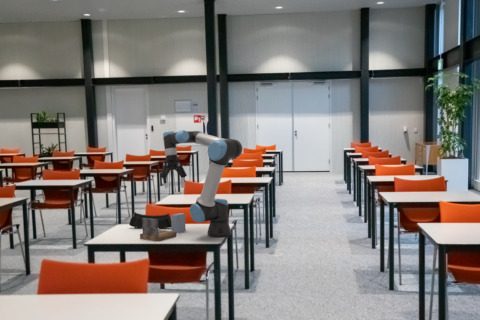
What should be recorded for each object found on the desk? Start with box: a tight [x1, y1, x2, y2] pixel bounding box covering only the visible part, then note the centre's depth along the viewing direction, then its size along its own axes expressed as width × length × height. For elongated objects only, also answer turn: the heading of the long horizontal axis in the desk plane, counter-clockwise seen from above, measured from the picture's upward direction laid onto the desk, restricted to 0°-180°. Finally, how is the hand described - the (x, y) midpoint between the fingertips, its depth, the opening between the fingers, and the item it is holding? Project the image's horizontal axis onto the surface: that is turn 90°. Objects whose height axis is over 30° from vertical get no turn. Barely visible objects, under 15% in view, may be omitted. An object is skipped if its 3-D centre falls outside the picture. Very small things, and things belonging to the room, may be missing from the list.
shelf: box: [139, 218, 178, 242], centre depth 327 cm, size 16×16×13 cm
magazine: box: [129, 211, 172, 229], centre depth 358 cm, size 17×3×30 cm
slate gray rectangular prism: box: [170, 212, 187, 234], centre depth 342 cm, size 5×8×12 cm, turn 145°
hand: (175, 188), depth 335 cm, fingers open, 13 cm apart
